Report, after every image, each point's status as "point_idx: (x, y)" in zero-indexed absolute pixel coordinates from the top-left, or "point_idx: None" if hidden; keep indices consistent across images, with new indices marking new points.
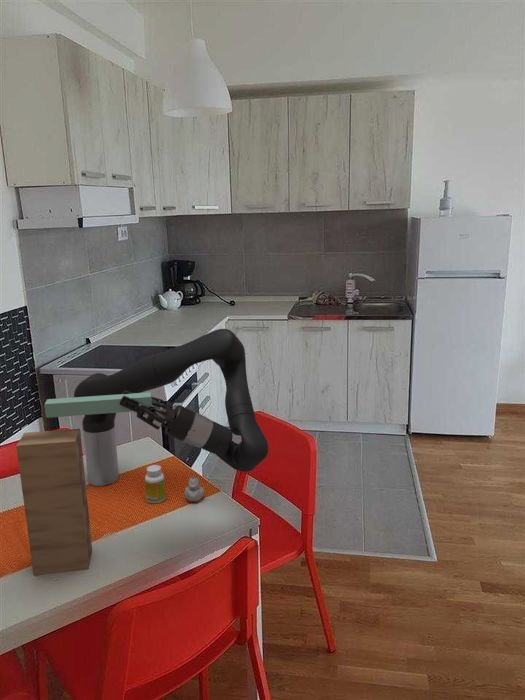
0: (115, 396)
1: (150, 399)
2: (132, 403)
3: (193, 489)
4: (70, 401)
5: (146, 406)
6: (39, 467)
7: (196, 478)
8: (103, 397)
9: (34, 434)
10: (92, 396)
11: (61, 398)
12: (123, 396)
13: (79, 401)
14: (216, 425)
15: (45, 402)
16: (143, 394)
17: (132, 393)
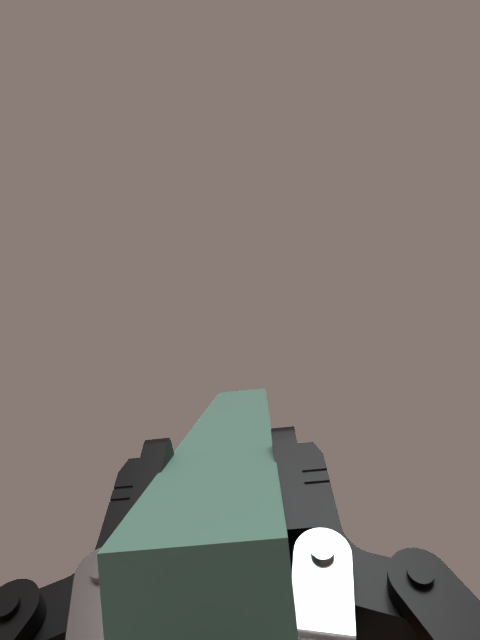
0: (236, 438)
1: (101, 589)
2: (108, 515)
3: None
4: (220, 402)
5: (77, 634)
6: None
7: None
8: (235, 424)
9: None
10: (265, 411)
11: (264, 393)
12: (159, 439)
13: (210, 409)
14: None
15: (234, 391)
16: (224, 506)
17: (296, 469)
